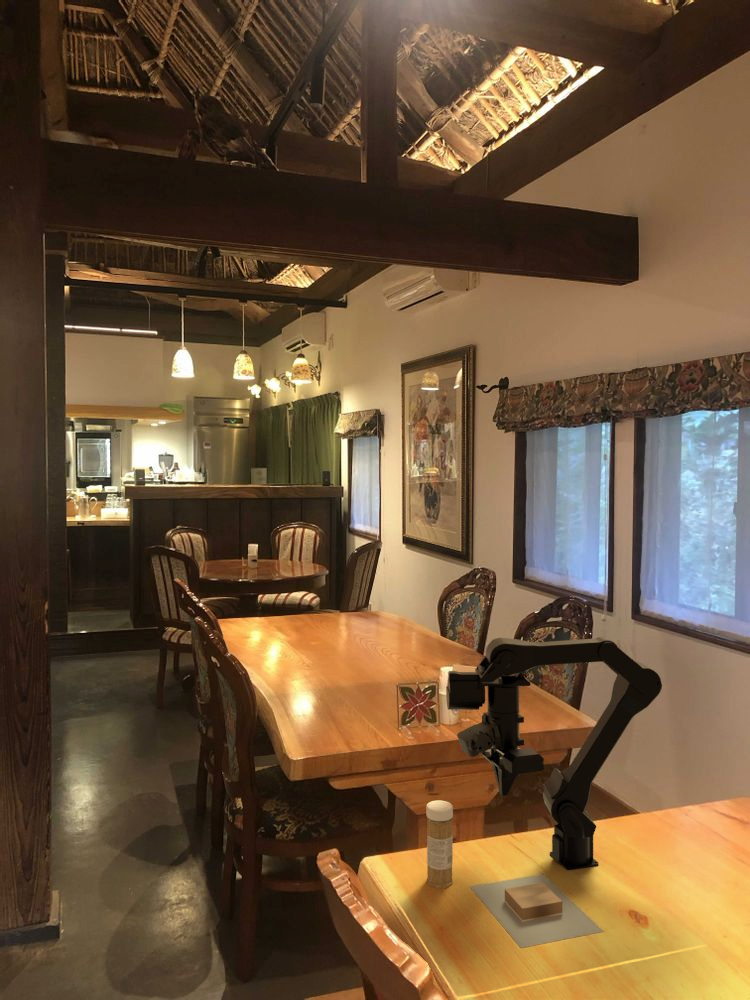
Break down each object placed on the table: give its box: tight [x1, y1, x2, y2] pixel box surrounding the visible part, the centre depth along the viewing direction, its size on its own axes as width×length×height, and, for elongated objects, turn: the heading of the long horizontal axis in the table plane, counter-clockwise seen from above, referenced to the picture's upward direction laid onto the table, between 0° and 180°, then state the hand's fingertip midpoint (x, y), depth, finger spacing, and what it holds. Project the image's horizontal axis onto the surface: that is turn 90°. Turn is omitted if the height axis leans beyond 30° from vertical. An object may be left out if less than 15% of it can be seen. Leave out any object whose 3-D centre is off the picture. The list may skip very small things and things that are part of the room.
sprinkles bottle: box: [425, 799, 454, 889], centre depth 125 cm, size 5×5×14 cm
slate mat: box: [469, 873, 605, 949], centre depth 117 cm, size 14×18×1 cm
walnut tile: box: [505, 883, 562, 921], centre depth 117 cm, size 7×2×6 cm
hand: (503, 795), depth 133 cm, fingers closed
